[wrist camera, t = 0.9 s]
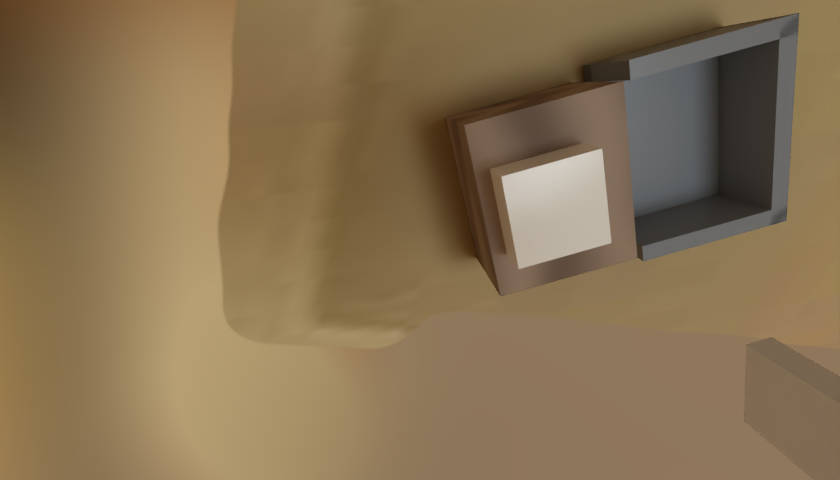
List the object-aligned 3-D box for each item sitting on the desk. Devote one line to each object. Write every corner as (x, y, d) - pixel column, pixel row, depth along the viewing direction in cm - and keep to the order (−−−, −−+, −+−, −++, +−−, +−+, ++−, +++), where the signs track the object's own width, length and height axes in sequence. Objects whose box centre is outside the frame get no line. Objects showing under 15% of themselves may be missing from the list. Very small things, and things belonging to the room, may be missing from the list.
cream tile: (581, 143, 26) (602, 148, 24) (591, 230, 28) (611, 243, 26) (489, 168, 26) (501, 176, 24) (506, 254, 28) (518, 269, 26)
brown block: (572, 82, 32) (624, 80, 25) (589, 227, 36) (637, 257, 30) (445, 117, 32) (464, 125, 25) (477, 258, 36) (500, 296, 29)
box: (723, 26, 32) (798, 13, 26) (722, 200, 37) (786, 220, 31) (583, 65, 32) (629, 60, 26) (601, 234, 36) (643, 261, 31)
